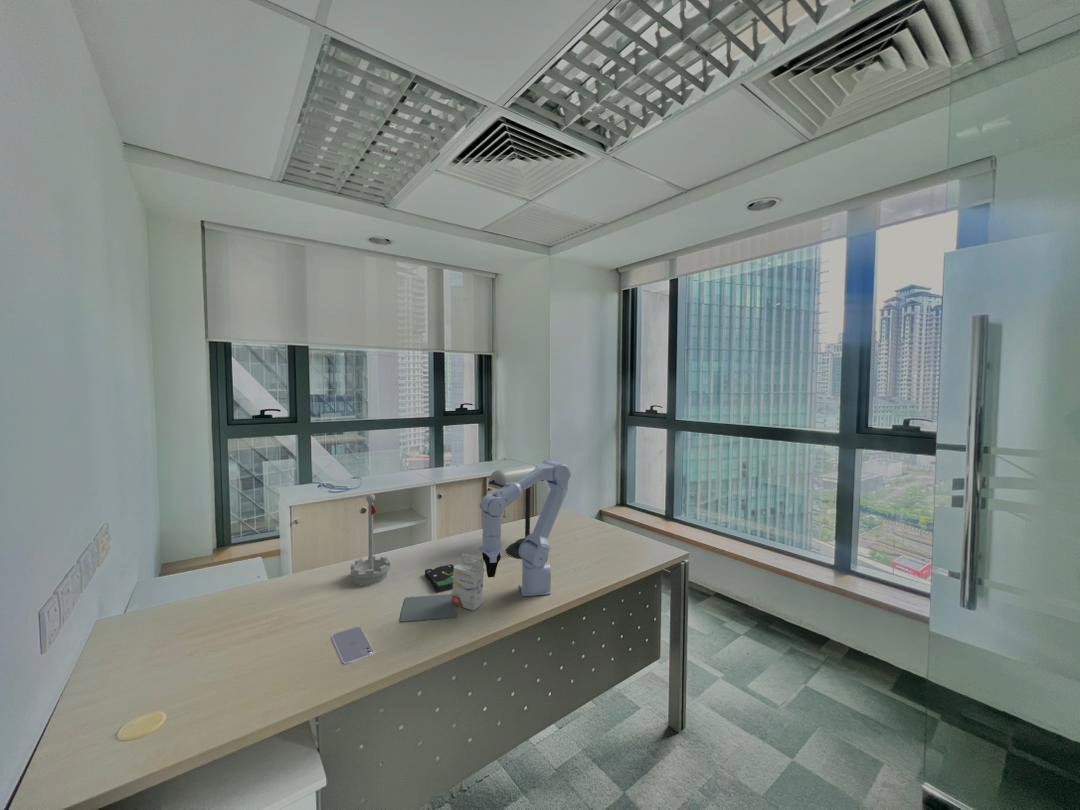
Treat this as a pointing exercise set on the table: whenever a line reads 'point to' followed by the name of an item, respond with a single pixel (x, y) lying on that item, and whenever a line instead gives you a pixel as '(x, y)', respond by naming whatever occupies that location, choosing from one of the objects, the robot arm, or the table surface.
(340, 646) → the mobile phone
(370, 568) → the flag stand
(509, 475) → the lamp
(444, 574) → the disk drive
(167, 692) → the table surface
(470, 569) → the ink cartridge box
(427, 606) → the mat
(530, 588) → the robot arm
